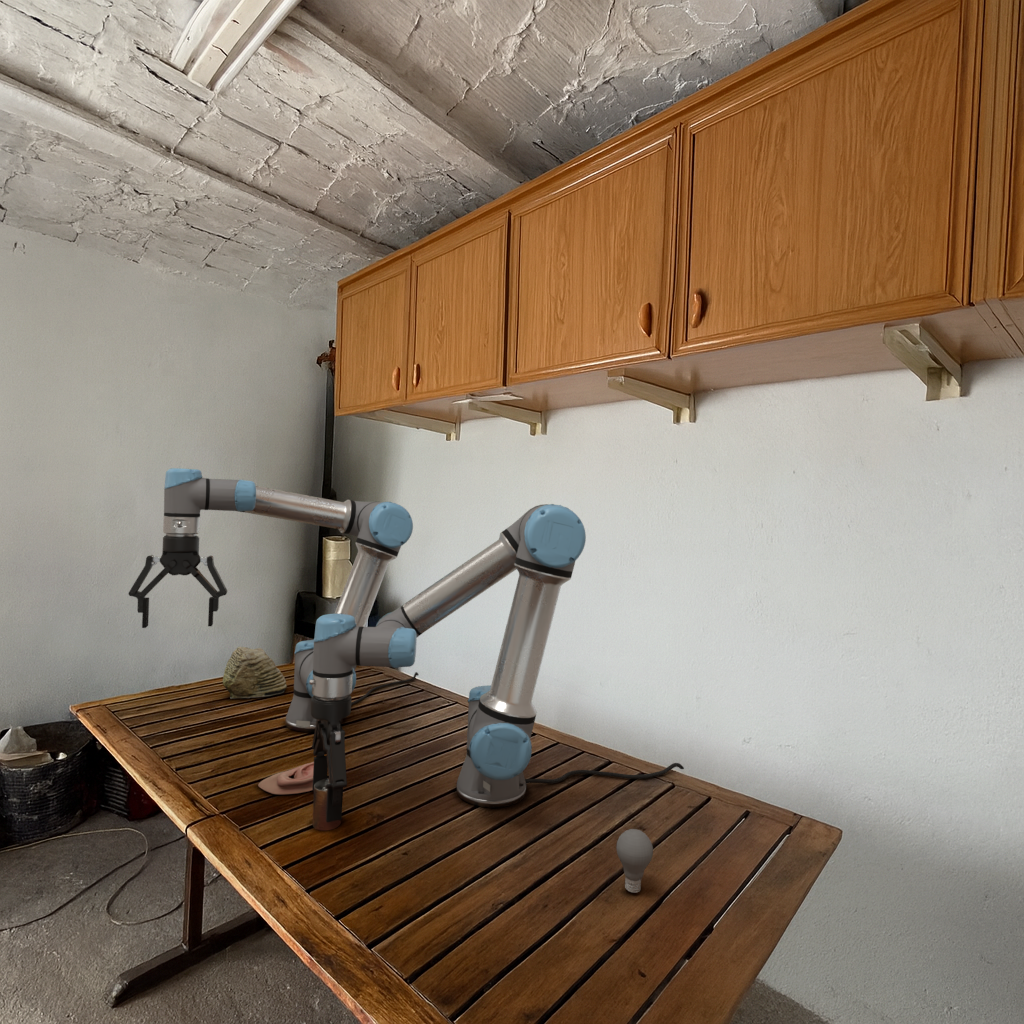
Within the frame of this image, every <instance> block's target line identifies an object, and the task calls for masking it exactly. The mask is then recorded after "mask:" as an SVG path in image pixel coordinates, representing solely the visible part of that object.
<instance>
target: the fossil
mask: <svg viewBox="0 0 1024 1024" xmlns="http://www.w3.org/2000/svg"><path fill="white" fill-rule="evenodd" d="M222 676H223V677H222V685H223V687H224V688H225V690H226V691H228V693H229V698H230V699H250V698H264V697H271V696H275V695H281V694H284V693H285V691H286V689H287V687H288V686H287V680H286V678H285V676H284V674H283V673H282V672H281V669H279V668H278V667H277V665H276V663H275V662H274V660H273V659H272V658H271V657H270V656H269V655H268V654H267V653H266V652H265V650H264V649H263V648H260V647H258V648H251V647H247V646H246V647H245V646H238V647H237V648H236V649H235V650H233V651H232V653H231V656H230V657H229V659H228V660H227V663H226V666H225V668H224V671H223V675H222Z"/></svg>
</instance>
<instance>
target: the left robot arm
mask: <svg viewBox="0 0 1024 1024" xmlns="http://www.w3.org/2000/svg"><path fill="white" fill-rule="evenodd" d="M163 492H164V493H163V494H164V495H163V499H164V501H163V526H162V527H163V528H162V533H163V534H165V535H164V536H163V537H162V551H161V552H162V553H161V556H157V555H153V554H150V555H149V554H148V556H147V557H146V558H145V564H144V566H143V568H142V569H141V571H140V573H139V575H138V577H137V578H136V580H135V581H134V583H133V584H132V587H131V588H130V590H129V591H128V596H129V597H134V598H136V599H137V613H138V614H142V619H141V629H146V628H147V627H148V626H149V616H150V615H149V613H150V597H146V596H148V594H149V593H150V592H151V591H152V590H153V589H154V588H155V587H156V586H157V585H158V584H159V583H160V582H161V581H162V580H163V579H164V578H165V577H166V576H167V575H171V576H179V575H181V576H188V575H190V574H191V575H192V577H194V578H195V579H196V581H197V582H198V583H199V584H200V585H201V586H202V587H203V588H204V589H205V590H206V591H207V592H208V594H209V595H210V597H209V598H208V617H207V627H213V624H214V612H218V610H219V608H220V607H219V604H220V597H224V596H226V595H227V593H228V589H227V587H226V585H225V583H224V581H223V579H222V577H221V575H220V573H219V572H218V569H217V567H216V566H215V562H214V561H215V560H214V559H215V558H214V555H208V556H200V537H199V536H198V534H200V530H201V529H200V528H201V511H224V512H225V511H227V512H239V513H246V514H251V515H257V516H263V517H268V518H274V519H280V520H285V521H292V522H298V523H302V524H309V525H314V526H319V527H324V528H325V527H326V528H331V529H338V531H339V532H340V534H344V535H350V536H353V537H356V539H355V546H356V549H357V553H356V556H355V558H354V561H353V564H352V567H351V569H350V572H349V574H348V577H347V580H346V583H345V585H344V587H343V590H342V593H341V595H340V598H339V601H338V603H337V606H336V608H335V611H334V614H345V615H351V616H353V617H354V618H355V623H356V626H360V627H366V626H367V625H366V624H367V622H368V620H369V616H370V614H371V611H372V609H373V606H374V603H375V601H376V598H377V595H378V593H379V590H380V587H381V585H382V582H383V580H384V577H385V574H386V571H387V569H388V566H389V564H390V562H392V561H394V560H395V559H397V558H398V556H399V553H400V550H401V547H402V546H403V545H405V544H406V543H407V542H408V541H409V540H410V538H411V537H412V534H413V531H414V530H413V529H414V523H413V518H412V516H411V514H410V512H409V511H408V510H407V508H405V507H404V506H402V505H400V504H398V503H396V502H393V501H378V500H377V501H360V500H352V499H346V500H345V501H338V500H333V499H328V498H324V497H317V496H312V495H307V494H301V493H298V492H297V493H296V492H291V491H287V490H282V489H275V488H271V487H265V486H261V485H257V484H256V483H255V481H253V480H245V479H229V478H227V479H226V478H208V477H203V475H202V470H200V469H195V468H181V467H179V468H178V467H177V468H176V467H172V468H169V469H167V470H166V472H165V478H164V491H163ZM158 563H160V564H161V565H162V567H163V569H162V570H161V571H160V572H159V573H158V574H157V575H156V576H155V577H154V578H153V579H152V580H151V581H150V582H149V583H148V584H147V585H146V586H145V587H144V588H143V589H142V590H141V591H140V588H141V586H142V585H143V583H144V582H145V580H146V578H147V577H148V576H149V574H150V572H151V570H152V568H153V566H155V565H157V564H158ZM200 563H203V565H204V566H205V567H207V569H208V571H209V573H210V575H211V577H212V579H213V582H214V583H215V585H216V587H217V589H218V590H217V589H216V588H215V587H214V585H212V583H211V582H210V581H209V580H208V579H207V578H206V577H205V576H204V574H203V573H202V572H201V570H199V568H198V566H199V565H200ZM313 640H314V639H307V640H302V641H299V642H297V643H296V644H295V650H294V672H293V673H294V674H293V675H294V676H293V695H292V696H293V697H292V699H291V702H290V704H289V708H288V711H287V713H286V715H285V726H286V728H287V729H289V730H291V731H294V732H295V731H296V732H301V733H314V732H315V726H316V721H317V719H315V718H313V717H312V716H311V698H312V697H313V696H314V695H313V694H312V685H310V684H309V681H310V680H312V679H313V655H314V642H313ZM356 668H357V666H353V683H352V692H354V689H355V688H356V685H357V673H356ZM417 676H419V672H417V671H416V672H414V674H413V677H411V678H408V679H403V680H397V681H392V682H388V683H384V684H381V685H377V686H375V687H373V688H371V689H369V690H368V691H367V692H366V694H364V695H363V696H361V697H360V698H357V699H356V700H354V701H351V706H353V705H355V704H357V703H359V702H361V701H363V700H364V699H365V698H367V697H368V696H369V695H370V694H371V693H372V692H374V691H376V690H379V689H381V688H386V687H389V686H393V685H399V684H403V683H404V684H405V683H409V682H412V681H414V680H415V679H416V678H417ZM343 722H344V718H343V719H342V720H340V725H342V723H343Z"/></svg>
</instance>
